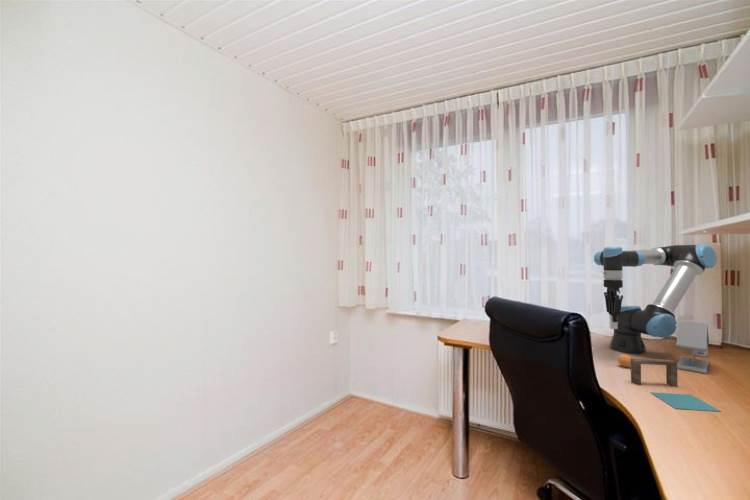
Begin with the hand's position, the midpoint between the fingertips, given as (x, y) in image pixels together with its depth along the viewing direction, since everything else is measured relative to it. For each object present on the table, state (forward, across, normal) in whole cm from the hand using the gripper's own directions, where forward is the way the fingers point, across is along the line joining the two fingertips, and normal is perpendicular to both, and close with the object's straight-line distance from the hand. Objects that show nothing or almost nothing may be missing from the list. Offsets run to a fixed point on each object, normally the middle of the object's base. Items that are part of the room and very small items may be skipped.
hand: (613, 328), depth 162 cm
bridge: (+15, +29, 0) cm, 33 cm away
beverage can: (+15, -16, +46) cm, 51 cm away
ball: (+13, +9, 0) cm, 16 cm away
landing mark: (+15, +45, 0) cm, 48 cm away
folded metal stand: (+16, +4, +30) cm, 34 cm away
